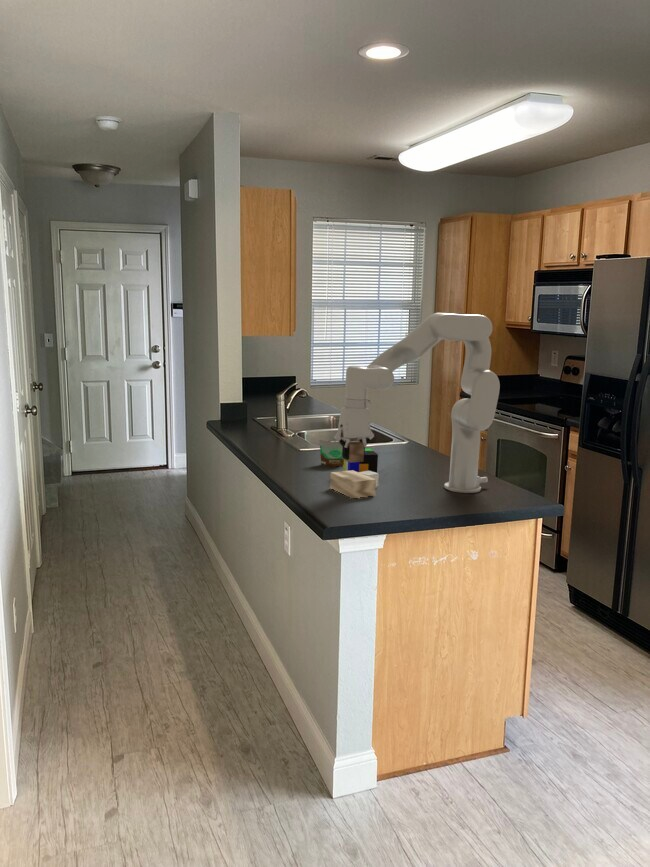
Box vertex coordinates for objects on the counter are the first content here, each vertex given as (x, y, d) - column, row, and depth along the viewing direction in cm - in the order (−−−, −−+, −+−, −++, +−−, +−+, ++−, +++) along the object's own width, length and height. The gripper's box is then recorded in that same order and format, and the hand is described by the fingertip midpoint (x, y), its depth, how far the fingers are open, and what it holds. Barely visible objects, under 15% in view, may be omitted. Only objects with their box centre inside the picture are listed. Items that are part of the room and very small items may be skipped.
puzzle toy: (349, 482, 253) (350, 454, 251) (343, 475, 263) (344, 449, 261) (376, 482, 255) (377, 454, 253) (369, 475, 265) (370, 448, 263)
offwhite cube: (367, 484, 252) (368, 470, 251) (378, 487, 248) (378, 473, 247) (357, 486, 248) (358, 472, 247) (368, 489, 245) (368, 475, 244)
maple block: (352, 487, 248) (353, 470, 247) (375, 497, 236) (375, 479, 235) (330, 489, 243) (330, 472, 242) (352, 499, 232) (352, 481, 230)
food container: (323, 468, 273) (324, 442, 271) (317, 465, 278) (318, 439, 277) (352, 466, 277) (353, 441, 276) (346, 463, 283) (347, 438, 281)
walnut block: (355, 458, 241) (356, 441, 240) (363, 461, 237) (364, 443, 236) (342, 459, 239) (343, 441, 238) (350, 462, 234) (351, 444, 233)
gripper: (372, 401, 241) (369, 454, 245) (327, 403, 234) (325, 457, 237) (384, 405, 235) (381, 459, 238) (338, 406, 227) (335, 462, 230)
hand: (353, 457), depth 237 cm, fingers closed on walnut block, 5 cm apart
